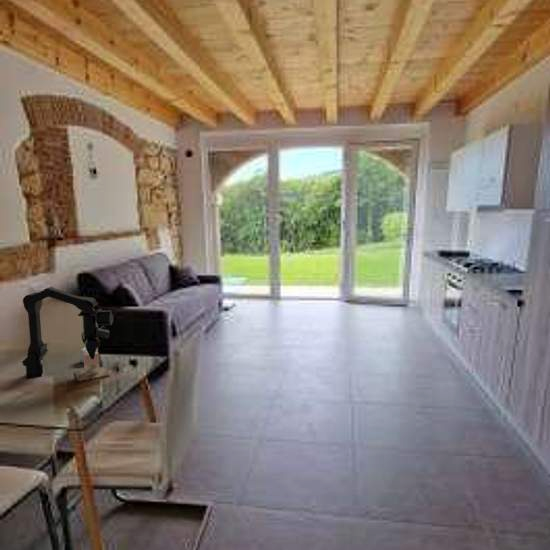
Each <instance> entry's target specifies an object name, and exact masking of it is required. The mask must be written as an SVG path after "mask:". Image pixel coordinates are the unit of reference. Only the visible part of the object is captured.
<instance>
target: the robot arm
mask: <svg viewBox="0 0 550 550" xmlns="http://www.w3.org/2000/svg"><path fill="white" fill-rule="evenodd" d="M46 298H51V299H54V300H58V301H59V302H64V303H67V304H69V305H72V306H75V307H76V309H79V310H80V312H79V313H78V314H77V316H78V317H82V330H83V331H82V332H81V337H80V338H81V340H82V342H83V344H84V347H85V348H86V350H87V352H88V354H89V356H90V358H91V359H94V357H95V352H96V351H97V349H98V348H100V347H101V340H100V339H99V338H103V339H108V338H109V336H110V331H109V329H107V328H106V326H107V325H108V326H112V325H113V323H114V315H113V313H112V310H103V309H102V308H101V307H100V305H98V302H97V300H96V298H94V297H89V296H79V295H75V294H73V293H69V292H67V291H63V290H60V289H58V288H57V289H56V288H54V287H53V286H49V287H47V288H44V289H43V290H41V291H39V292H31V293H29V294H26V295H25V296H24V297H23V298H22V304H23V307H24V309H25V311H26V313H27V316H28V318H27V319H28V328H29V329H28V330H29V340H30V341H29V342H30V343H29V345H28V348H27V355H26V356H27V357H25V359H23V360H22V361H21V364H22V365H23V367H25V378H26V379H31V378H37V377H42V376H43V374H44V369H43V368H44V367H43V363H42V360H43V359H44V357H46V355H47V352H48V351H49V350H48V343H44V342H43V339H42V326H41V313H40V311H41V309H42V306H43V300H44V299H46ZM97 324H98V325H100V326H101V327H98V326H97Z"/></svg>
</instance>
